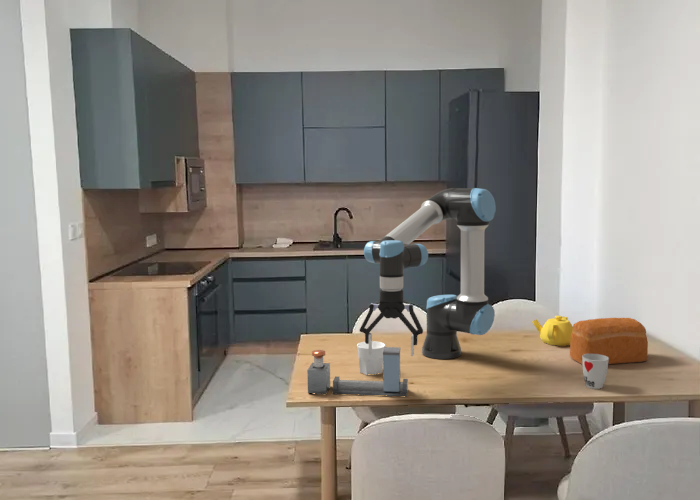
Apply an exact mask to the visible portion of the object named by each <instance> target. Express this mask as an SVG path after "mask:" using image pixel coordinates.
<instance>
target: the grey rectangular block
mask: <svg viewBox="0 0 700 500" xmlns="http://www.w3.org/2000/svg"><path fill="white" fill-rule="evenodd" d="M382 374H383V376H382V377H383V380H382V381H383V390H384V391H391V392H399V383H400V382H401V347H398V346H396V347H394V346H393V347H391V346H385V347H384V350H383V371H382Z"/></svg>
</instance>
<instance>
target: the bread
mask: <svg viewBox="0 0 700 500" xmlns="http://www.w3.org/2000/svg"><path fill="white" fill-rule="evenodd" d="M572 326H573V332H572V333H571V342H570V345H569V346H570V347H569V356H570V357H569V358H571V360H574V361H575V362H577V363H579V364H582V365H583V363H582V356H583V355H584V354H600V355H604V356H607V357H608V358H609V360H608V365H614V364H615V365H616V364H617V365H618V364H629V363H630V364H633V363H641V362H647V361H648V352H649V351H648V350H649V349H648V347H649V343H648V342H649V340H648V336H647V331H646V327H645V326H644V325H643V324H642V323H641V322H640V321H639V320H636V319H635V318H631V317H605V318H604V317H601V318H594V319H593V318H591V319H586V320H579V321H577V322H574V324H573V325H572Z"/></svg>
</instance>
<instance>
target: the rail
mask: <svg viewBox="0 0 700 500" xmlns="http://www.w3.org/2000/svg"><path fill="white" fill-rule="evenodd" d="M408 382H409V379H408V378H403V379H402V381H400V383H399V392H391V391H384V390H383V380H381V381H380V380H378V381H377V380H355V379H354V380H353V379H340V376H334V379H333V380H332V393H331V394H332V395H337V394H359V395H358V396H364V395H387V396H386V397H392V396H405V397H404V398H407V397H408V391H409V385H408Z"/></svg>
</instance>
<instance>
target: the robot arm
mask: <svg viewBox="0 0 700 500" xmlns="http://www.w3.org/2000/svg"><path fill="white" fill-rule="evenodd" d="M496 209H497V207H496V201H495V198H494V196H493V194H492V192H490V191H489V190H488V189H486V188H478V187H471V188H468V187H466V188H459V187H458V188H457V187H451V188H446V189H443V190H440V191H438V192H437V193H435V194H433V195H432V196H430V197H429V198H427V199H426V200H424V201H423V202H422V203H421V205H420V208H419V209H418V210H416V211H415V212H414V213H412V214H411V215H410V216H408V217H407V218H406V219H405V220H404V221H403V222H401V223H400V224H399V225H397V226H396V227H395V228H393V229H392V230H391V231H389V232H388V233H387V234H386V235H384V237H382V238H381V239H379V240H378V241H377V240H371V241H367V243H366V244H365V246H364V248H363V255H364V258H365V260H366V261H367V262H368V263H373V264H376V265H378V264H379V289H380V290H379V302H378V304H377V303H374V302H371V303H370V305H369V309H368V310H369V311H368V312H367V315H366V316H365V318H364V320H363V322H362V324H361V325H360V327H359V332H360V333H363V334H364V338H365V339H364V340H365V341H364V342H365V343H366V344H369V355H371V353H372V341H373V339H372V337H373V335H372V334H373V333H372V332H371V331H372V330H373V329H374V328H375V327H376V326H377V324H379V322H380V321H381V320H382V319H383V318H386V319H393V320H394V319H398V318H399V320H400V321H401V322H402V324H403V325H405V326H406V328H407V329H408V330H409V331H410V332H411V335H410V356H411V357H414V354H415V353H414V352H415V348H414V347H415V346H417V345H418V336H419V335H422V334H423V333H424V329H423V327H422V325H421V323H420V321H419V318H418V317H417V314H416V313H415V311H414V305H413V303H409V304H407V305H406V304H404V290H403V289H404V270H405V269H411V268H419V267H421V266H424V265H425V264H427V262H428V259H429V251H428V249H427V247H426V246H425V245H424V244H421V243H412V242H414V241H415V240H416V239H418V237H420V236H421V235H423V234H424V233H425V232H426V231H427V230H429V228H430V227H432V226H433V225H437V224H440V223H441V222H442V221H445V220H456V226H457V227H458V229H459V230H460V293H459V294H458V295H456V294H438V295H434V296H431V297H428V298H427V299H426V308H425V310H426V336H425V337H424V341H423V344H422V350H421V354H422V355H423V356H424V357H426V358H431V359H435V360H436V359H437V360H450V359H456V358H459V357H460V356H461V355H462V347H461V344H460V342H459V341H460V340H459V338H458V333H457V332H461V333H465V334H470V335H475V336H477V335H478V336H483V335H486V334H487V333H488V332H489V331H490V330H491V328H492V327H493V324H494V320H495V317H496V314H495V312H496V311H495V308H494V307H493V305H491V304H489V297H488V296H487V295H486V294H485V230H486V229H487V228H488V227H489V225H490V221H492V220H493V219H494V218H495V214H496ZM411 243H412V244H411ZM377 309H378V310H379V312H380V313H379V315H378V316H377V317H376V318H375V319H374V320H373V321H372V322H371V324H370V325H368V327H367V328H366V326H367V324H368V322H369V320H370V318H371V317H372V315H373V313H374V311H376V310H377ZM405 310H406V311H407V312H409V315H410V317H411V319H412V321H413V324H414V325H415V327H416V328H415V327H414V325H412V323H411V322H410V321H409V320H408V319H407V317H406V316H405V315H404V313H403V312H404V311H405Z"/></svg>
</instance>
